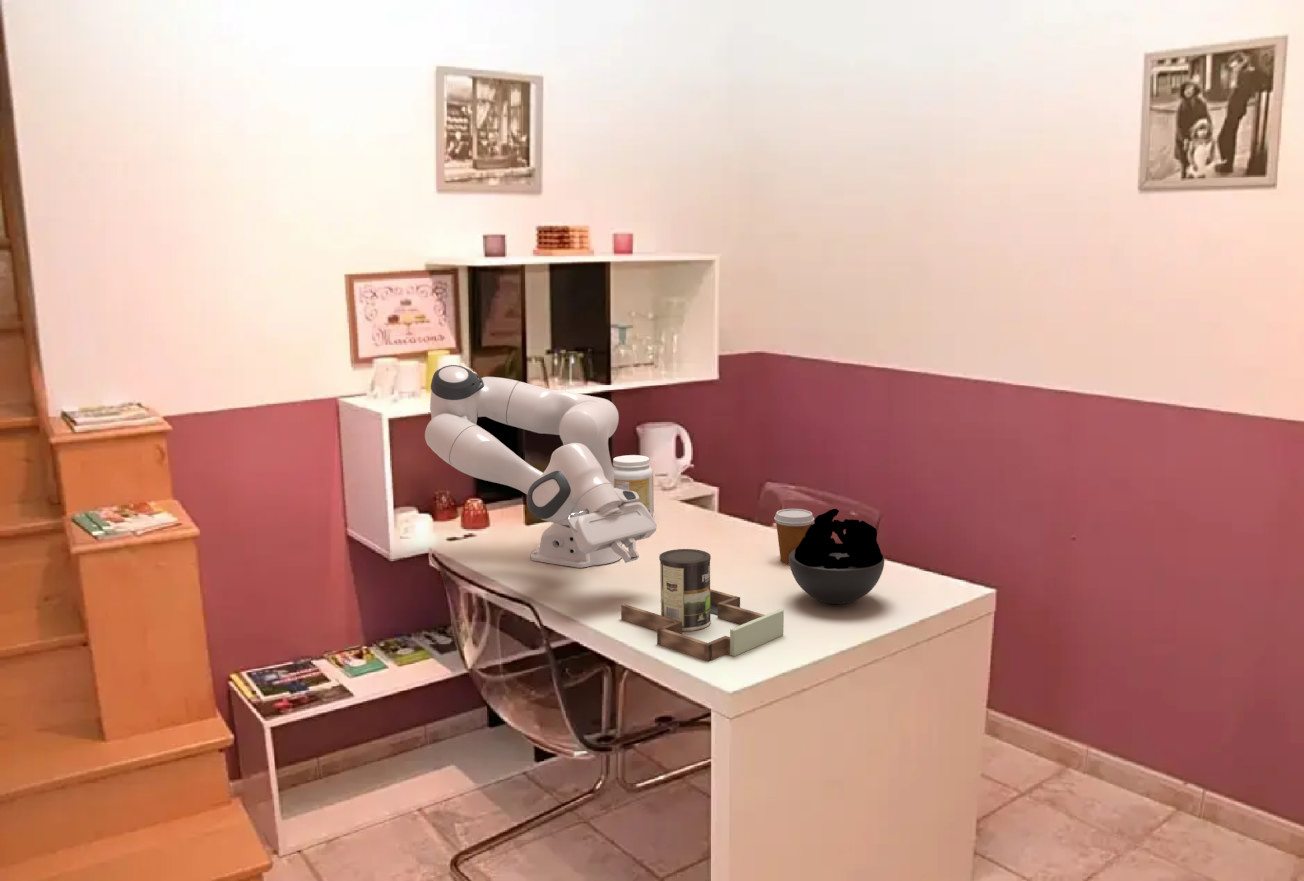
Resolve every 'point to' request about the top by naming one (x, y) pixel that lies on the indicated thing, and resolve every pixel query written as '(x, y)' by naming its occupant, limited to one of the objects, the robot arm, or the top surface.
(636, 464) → the supplement tub
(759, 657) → the top surface
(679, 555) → the coffee can
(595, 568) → the top surface
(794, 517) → the disposable coffee cup
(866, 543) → the coal bowl
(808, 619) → the top surface
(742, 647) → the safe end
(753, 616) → the trap lane
